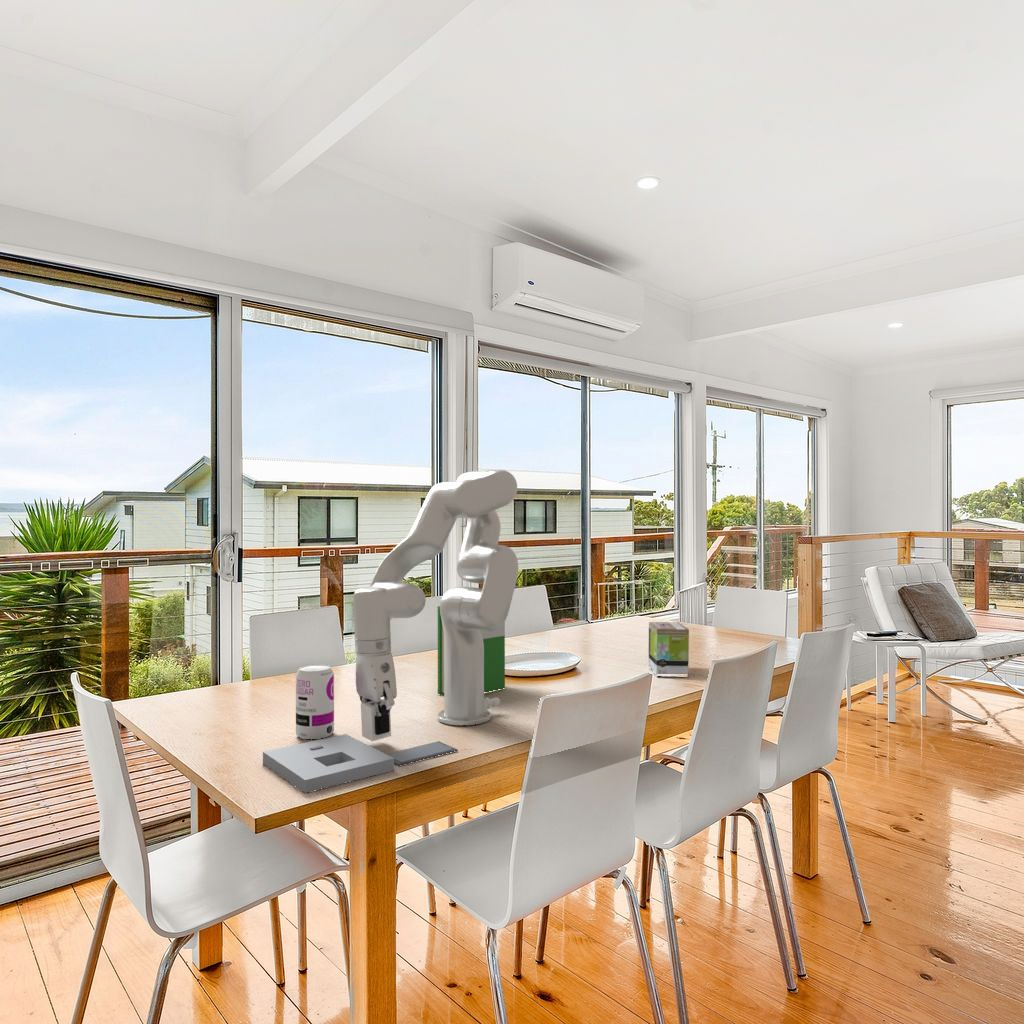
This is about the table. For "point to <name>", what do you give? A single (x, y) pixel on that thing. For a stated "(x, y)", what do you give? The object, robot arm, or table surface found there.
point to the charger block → (371, 721)
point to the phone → (420, 753)
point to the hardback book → (492, 657)
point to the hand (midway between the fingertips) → (376, 729)
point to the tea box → (668, 648)
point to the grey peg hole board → (327, 762)
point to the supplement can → (314, 702)
